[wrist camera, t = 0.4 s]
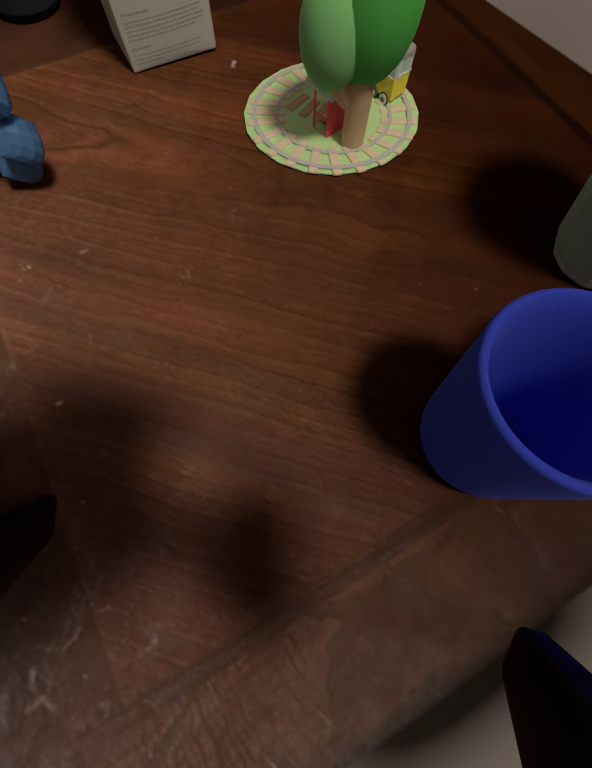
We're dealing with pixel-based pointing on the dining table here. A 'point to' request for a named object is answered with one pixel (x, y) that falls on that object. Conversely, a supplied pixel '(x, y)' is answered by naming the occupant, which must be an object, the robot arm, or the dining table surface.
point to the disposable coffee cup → (577, 239)
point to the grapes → (18, 144)
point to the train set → (341, 89)
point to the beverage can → (27, 9)
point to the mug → (519, 404)
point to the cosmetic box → (160, 29)
